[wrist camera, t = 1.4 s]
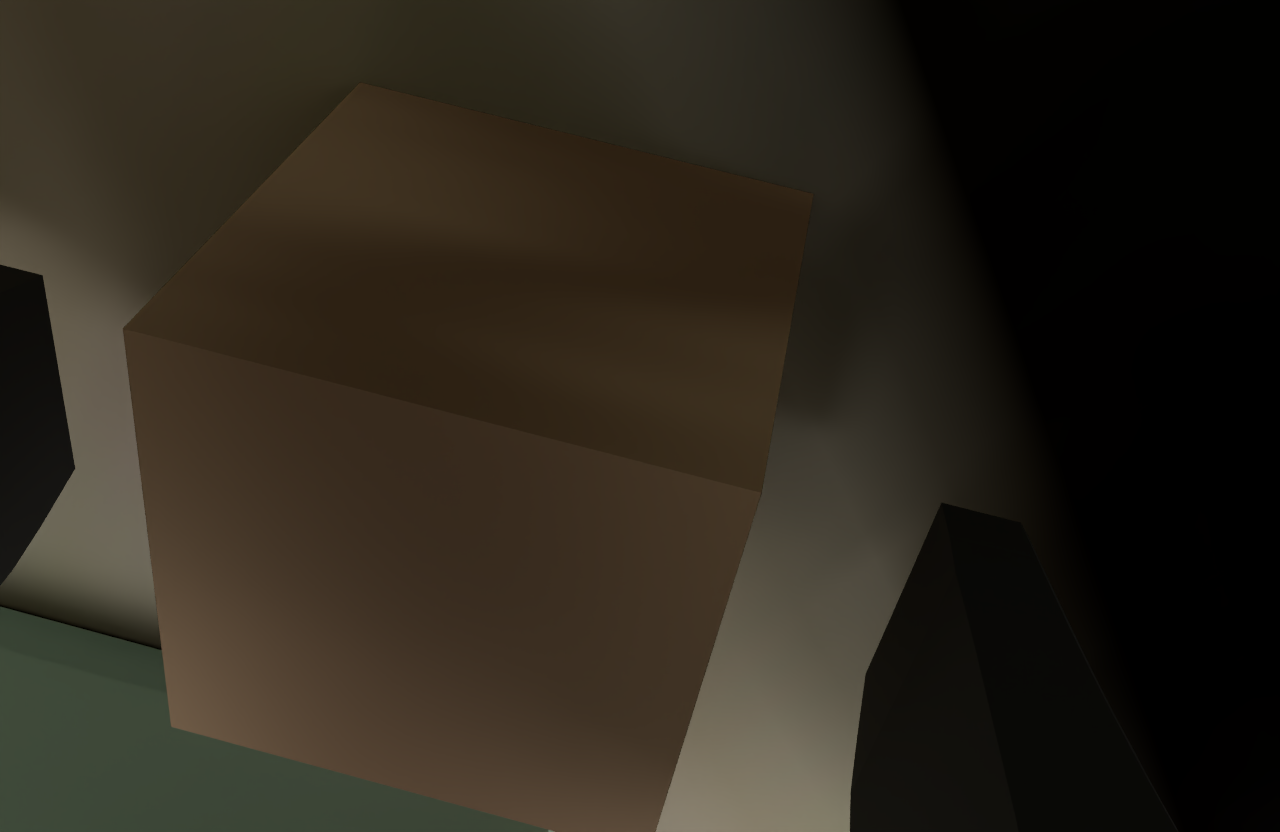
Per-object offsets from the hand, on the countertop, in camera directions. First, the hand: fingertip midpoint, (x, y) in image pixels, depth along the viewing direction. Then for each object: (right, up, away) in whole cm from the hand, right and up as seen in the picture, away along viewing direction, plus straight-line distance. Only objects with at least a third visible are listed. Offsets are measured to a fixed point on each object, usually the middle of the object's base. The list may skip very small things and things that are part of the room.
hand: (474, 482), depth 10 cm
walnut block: (+1, +1, +2) cm, 2 cm away
